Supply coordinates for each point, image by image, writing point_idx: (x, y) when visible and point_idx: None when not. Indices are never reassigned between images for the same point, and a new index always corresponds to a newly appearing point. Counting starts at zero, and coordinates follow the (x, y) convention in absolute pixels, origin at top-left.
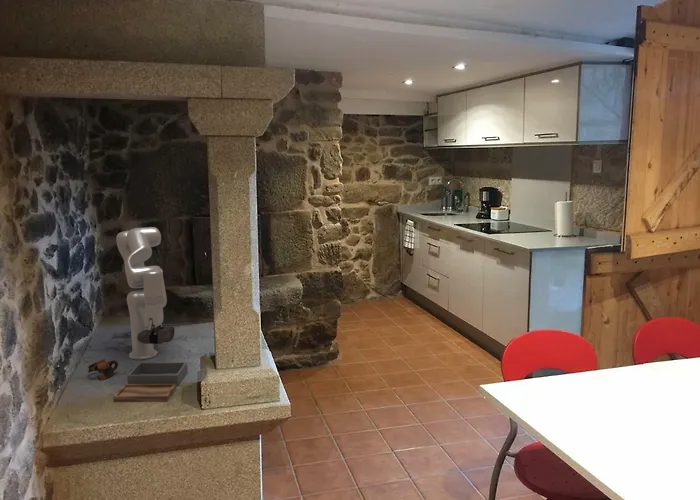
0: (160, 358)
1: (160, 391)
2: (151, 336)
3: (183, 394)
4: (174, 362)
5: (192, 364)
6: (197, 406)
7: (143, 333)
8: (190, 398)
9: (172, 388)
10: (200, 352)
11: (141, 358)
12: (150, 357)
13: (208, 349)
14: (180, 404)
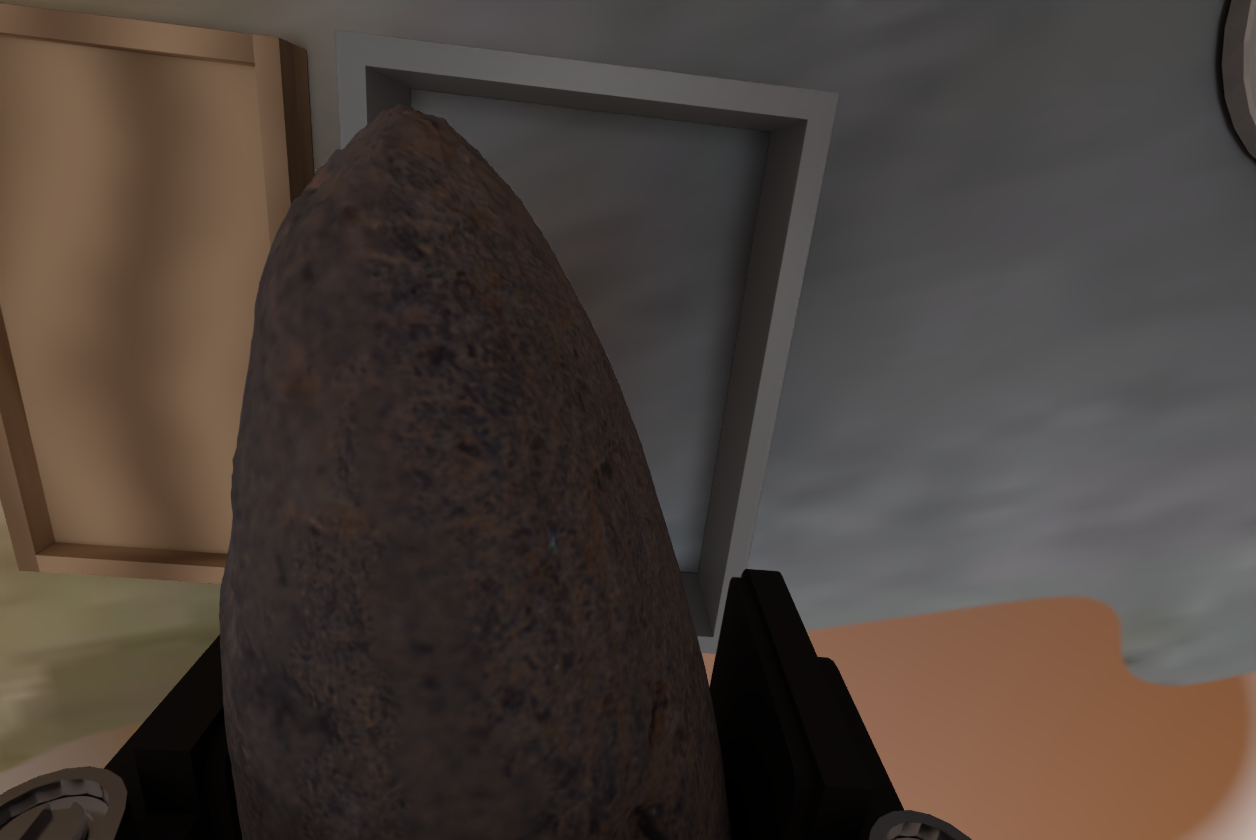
0: (1179, 258)
1: (193, 469)
2: (125, 780)
3: (217, 636)
4: (745, 538)
5: (892, 598)
6: (15, 756)
7: (244, 491)
8: (147, 694)
9: (205, 581)
10: (1190, 616)
11: (1239, 15)
12: (1241, 132)
13: (1241, 667)
14: (23, 647)
